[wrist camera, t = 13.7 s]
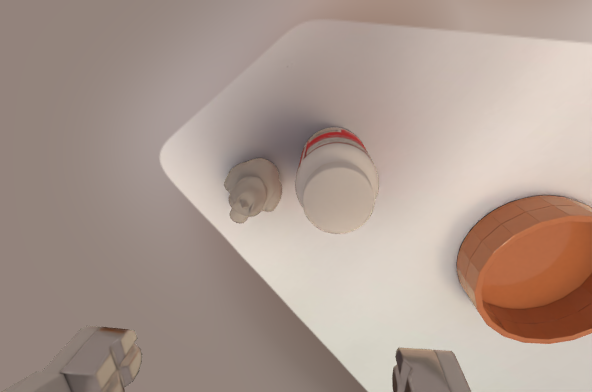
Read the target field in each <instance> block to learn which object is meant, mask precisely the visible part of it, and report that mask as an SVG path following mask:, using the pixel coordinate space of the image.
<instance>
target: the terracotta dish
mask: <svg viewBox="0 0 592 392" xmlns="http://www.w3.org/2000/svg"><path fill="white" fill-rule="evenodd" d="M457 273H458V277H459V280H460V284H461V285H462V287H463V288H464V290H465V292H466V293H467V295H468V296H469V298H470V299H471V301H472V303H473V304H474V306H475V307H476V309H477V310H478V312H479V313H480V315H481V316H482V318H483V319H484V321H485V322H486V324H487V325H488V326H489V327H491V328H492V329H494V330H495V331H497V332H498V333H500V334H501V335H502V336H504V337H507V338H511V339H514V340H517V341H520V342H525V343H540V344H551V343H558V342H564V341H570V340H575V339H577V338H580V337H583V336H585V335H588V334H591V333H592V208H591V207H590V206H588V205H586V204H583V203H580V202H578V201H575V200H572V199H569V198H565V197H560V196H550V195H547V196H533V197H527V198H523V199H519V200H516V201H513V202H510V203H508V204H505V205H503V206H501V207H499V208H497V209H496V210H494V211H492V212H491V213H489V214H488V215H487V216H485V217H484V218H483V219H481V220H480V221H479V222H478V223H477V224H476V225H475V226H474V227H473V228H472V230H471V231H470V232H469V233H468V235H467V236H466V238H465V239H464V241H463V243H462V245H461V247H460V250H459V254H458V259H457Z"/></svg>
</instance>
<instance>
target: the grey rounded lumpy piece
mask: <svg viewBox="0 0 592 392" xmlns="http://www.w3.org/2000/svg"><path fill="white" fill-rule="evenodd" d="M224 186H225V188H226V190H227V191H228V192H229V193H230V195H229V204H230V206H231V207H232V209H231V211H230V218H231V219H232V220H233V221H234V222H236V223H244V222H245V221H246V220H247V218H248V217H252V216H256V215H257V214H259V213H260V212H261V211H266V212H271V211H273V210H274V209H275V208H276V206H277V204H278V203H279V201H280V199H281V195H282V186H281V183H280V177H279V173H278V170H277V168H276V166H275V165H274V164H273V163H272V162H270V161H268V160H266V159H263V158H257V159H252V160H250V161H248V162H243V163H240V164H238V165H236V166H235V167H234V168H232V169H231V170H230V172H229V174H228V176H227V177H226V179H225V182H224Z"/></svg>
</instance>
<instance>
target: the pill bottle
mask: <svg viewBox="0 0 592 392" xmlns="http://www.w3.org/2000/svg"><path fill="white" fill-rule="evenodd" d="M295 188H296V194H297V197H298V200H299V202H300V204H301V205H302V207H303V209H304V212H305V214H306V216H307V218H308V219H309V221H310V222H311V223H312V224H313V225H314V226H316V227H317V228H319V229H320V230H322V231H325V232H328V233H333V234H343V233H348V232H351V231H354V230H356V229H358V228H359V227H361V226H362V225H363V224H364V223H365V222H366V221H367V220H368V219H369V217H370V216H371V214H372V211H373V209H374V204H375V199H376V197H377V194H378V189H379V178H378V173H377V170H376V167H375V165H374V163H373V161H372V160H371V158H370V156H369V154H368V152H367V151H366V149H365V147H364V145H363V144H362V142H361V141H360V139H359V138H358V137H357V136H356V135H355V134H353V133H352V132H350V131H348V130H346V129H343V128H336V127H332V128H326V129H323V130H321V131H319V132H317V133H315V134H314V135H313V136H312V137H311V138H310V139H309V140H308V141H307V143H306V144H305V146H304V148H303V151H302V155H301V159H300V163H299V167H298V170H297V174H296V181H295Z"/></svg>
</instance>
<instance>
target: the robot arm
mask: <svg viewBox="0 0 592 392" xmlns="http://www.w3.org/2000/svg"><path fill="white" fill-rule="evenodd" d="M136 340H137V335H136V333H135V331H134V330H128V329H118V328H108V327H96V326H86V327H84V328H82V329H80V330H79V332H78V333H77V334H76V335H75V336H74V337H73V338H72V339H71V340H70V341H69V342H68V343H67V345H66V346H65V347H64V348H63V349H62V350H61V351H60V352H59V353H58V354H57V355H56V357H55V358H54V359H53V360H52V361H51V362H50V363H49V364H48V365H47V366H46V368H44V370H43V371H42V372H35V373H33V374H31V375H30V376H28V377H26V378H25V379H23V380H21V381H19V382H18V383H16V384H14V385H12V386H10V387H9V388H7V389H5V390H3V391H2V392H124V387H126V386H127V385H129V384H130V383H131V382H133V381H134V379H135V377H136V375H137V374H138V372H139V369H140V366H141V362H142V353H141V349H140V348H139V347H138V346H137V345H136V344H135V341H136ZM396 361H397V365H396V366H395V367H394V368H393V392H471V390H470V388H469V385H468V383H467V381H466V379H465V376H464V374H463V372H462V370H461V368H460V365H459V363H458V361H457V359H456V356H455V354H454V353H453V352H452V351H443V350H432V349H414V348H398V349H397V351H396Z"/></svg>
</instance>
